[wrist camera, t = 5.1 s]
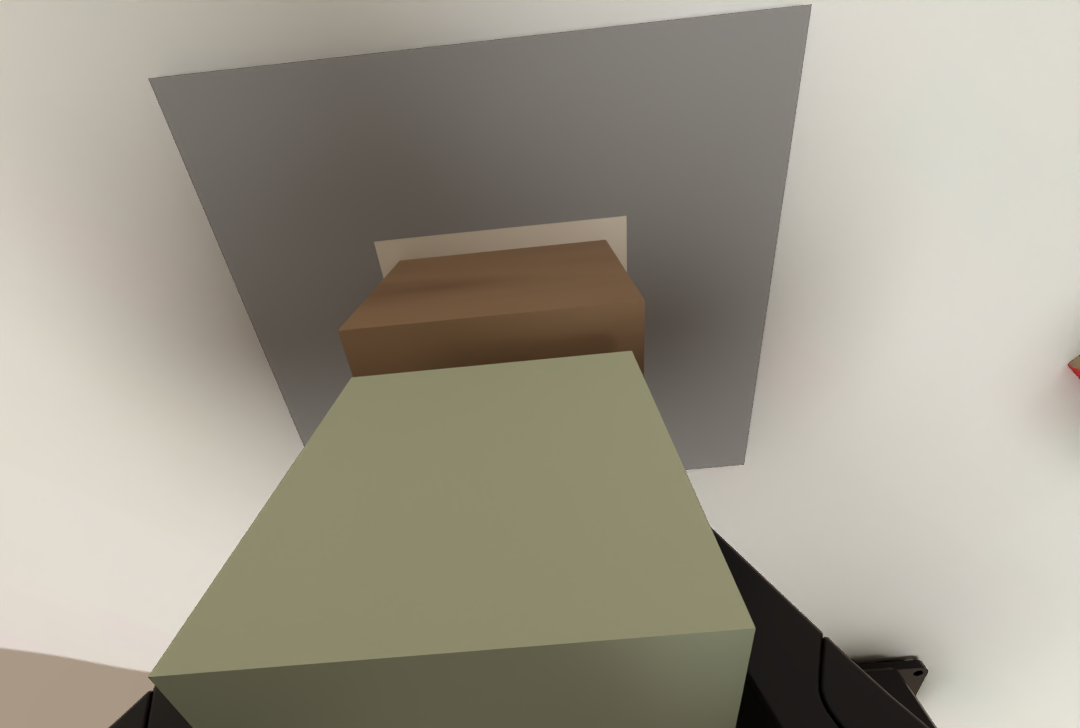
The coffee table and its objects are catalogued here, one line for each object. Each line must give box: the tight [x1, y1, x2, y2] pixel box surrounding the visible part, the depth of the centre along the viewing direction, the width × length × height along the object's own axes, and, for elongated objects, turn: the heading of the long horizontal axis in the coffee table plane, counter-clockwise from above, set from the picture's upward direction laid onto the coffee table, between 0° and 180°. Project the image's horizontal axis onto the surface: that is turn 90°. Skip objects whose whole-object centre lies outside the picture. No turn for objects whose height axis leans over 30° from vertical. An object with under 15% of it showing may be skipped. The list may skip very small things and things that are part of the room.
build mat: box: [148, 4, 812, 470], centre depth 14 cm, size 14×16×1 cm
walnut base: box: [338, 240, 645, 377], centre depth 13 cm, size 6×6×5 cm
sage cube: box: [148, 351, 756, 728], centre depth 7 cm, size 5×5×5 cm
